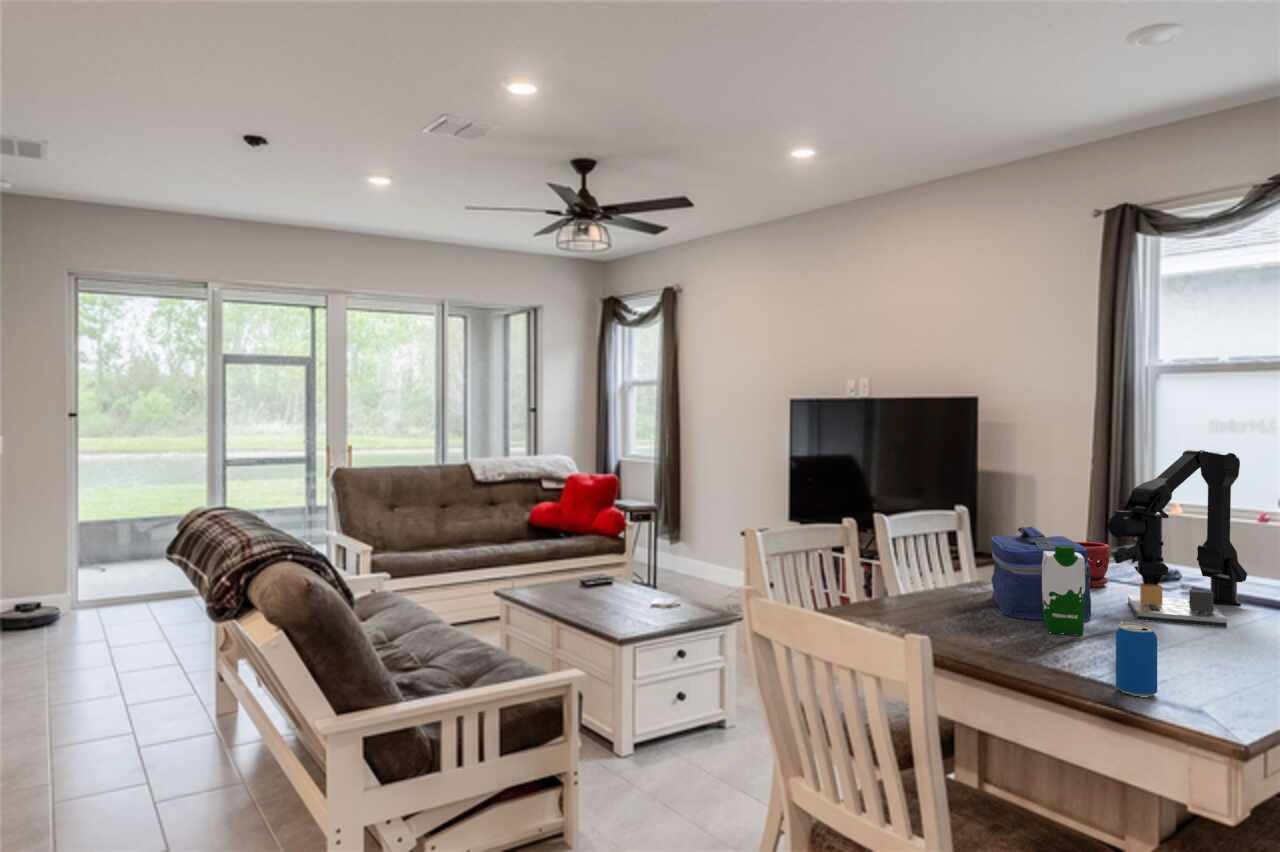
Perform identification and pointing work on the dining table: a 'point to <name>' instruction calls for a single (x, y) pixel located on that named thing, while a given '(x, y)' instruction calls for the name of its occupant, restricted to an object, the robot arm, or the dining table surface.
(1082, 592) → the milk carton
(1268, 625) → the dining table surface
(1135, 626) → the beverage can
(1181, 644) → the dining table surface
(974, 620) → the dining table surface
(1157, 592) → the orange fader
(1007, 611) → the lunch bag
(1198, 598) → the black fader
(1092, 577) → the plant pot
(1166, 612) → the panel
